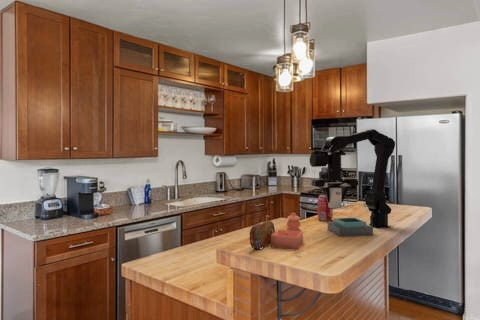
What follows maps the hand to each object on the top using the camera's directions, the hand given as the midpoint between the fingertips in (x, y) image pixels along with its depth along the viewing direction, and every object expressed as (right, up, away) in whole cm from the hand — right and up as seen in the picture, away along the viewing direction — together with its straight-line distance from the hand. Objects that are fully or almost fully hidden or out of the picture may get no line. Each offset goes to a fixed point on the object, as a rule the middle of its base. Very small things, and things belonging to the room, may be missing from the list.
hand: (335, 202), depth 143 cm
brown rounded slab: (-33, -13, -24) cm, 42 cm away
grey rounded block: (0, -2, 0) cm, 2 cm away
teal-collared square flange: (+5, -12, -5) cm, 13 cm away
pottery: (-22, -13, -18) cm, 31 cm away
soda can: (+1, -12, +21) cm, 24 cm away
